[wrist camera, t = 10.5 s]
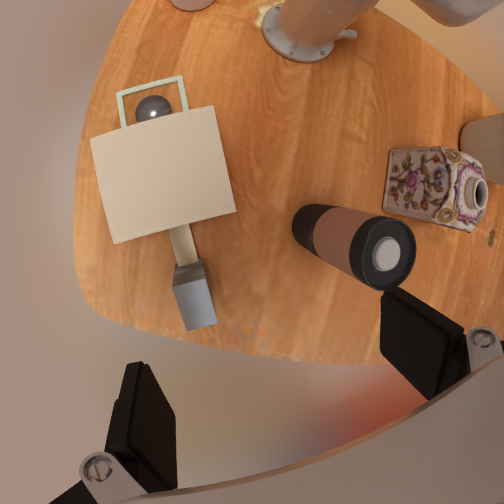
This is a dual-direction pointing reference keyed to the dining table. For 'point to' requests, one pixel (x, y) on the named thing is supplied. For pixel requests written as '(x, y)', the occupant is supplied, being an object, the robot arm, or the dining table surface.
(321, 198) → the dining table surface
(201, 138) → the white open box
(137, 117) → the ball
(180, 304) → the grey block on stick
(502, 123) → the canister
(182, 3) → the milk bottle
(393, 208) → the decorative jar
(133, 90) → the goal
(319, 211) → the travel mug
